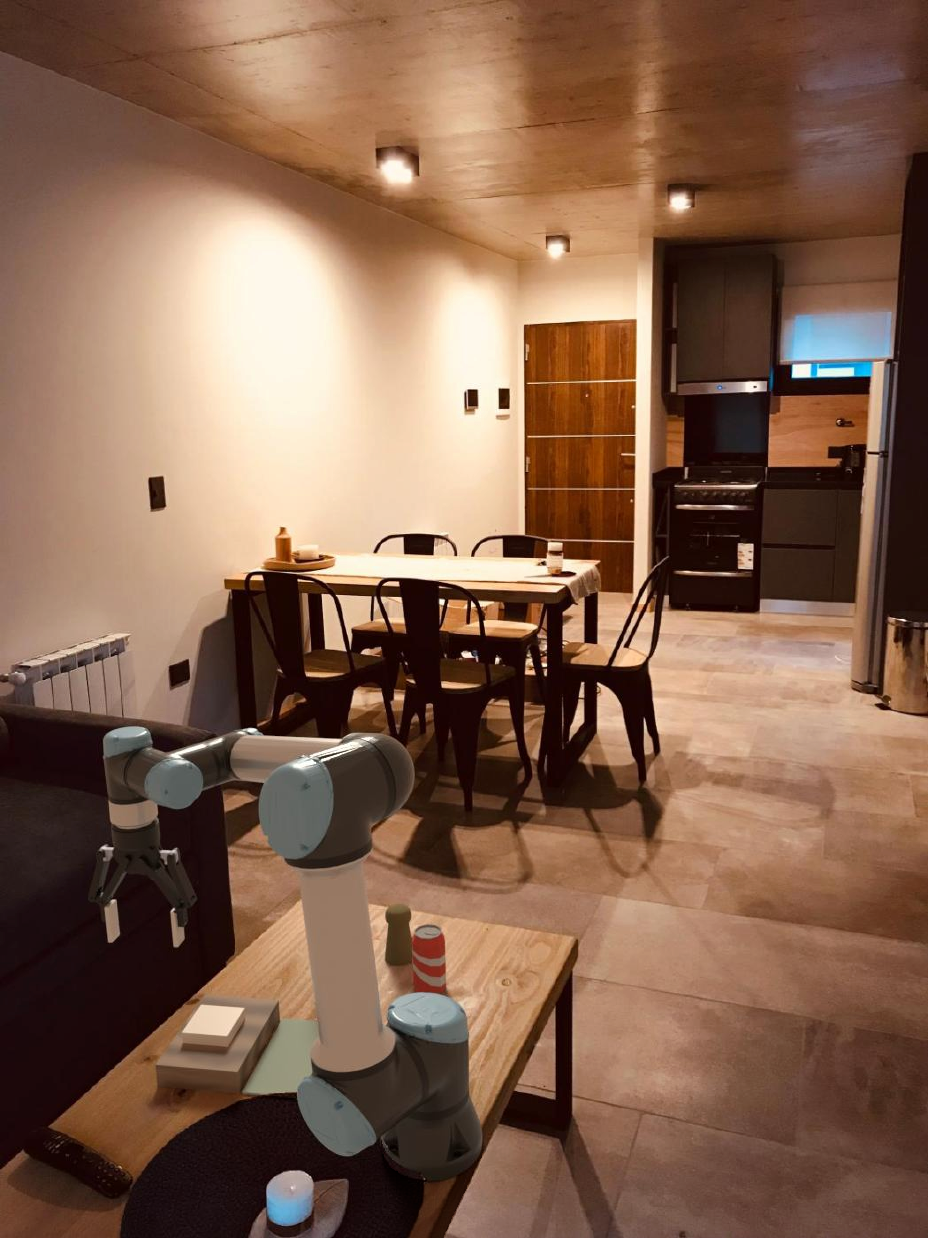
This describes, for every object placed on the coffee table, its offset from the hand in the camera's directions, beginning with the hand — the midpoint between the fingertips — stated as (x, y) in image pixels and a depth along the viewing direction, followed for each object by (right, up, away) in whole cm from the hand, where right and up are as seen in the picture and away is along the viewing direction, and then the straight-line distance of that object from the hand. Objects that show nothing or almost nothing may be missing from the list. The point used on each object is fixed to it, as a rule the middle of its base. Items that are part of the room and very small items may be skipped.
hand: (146, 940), depth 173 cm
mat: (+27, -20, 0) cm, 34 cm away
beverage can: (+47, -15, +20) cm, 54 cm away
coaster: (+11, -16, +2) cm, 19 cm away
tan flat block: (+12, -20, +2) cm, 23 cm away
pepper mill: (+41, -13, +30) cm, 53 cm away
